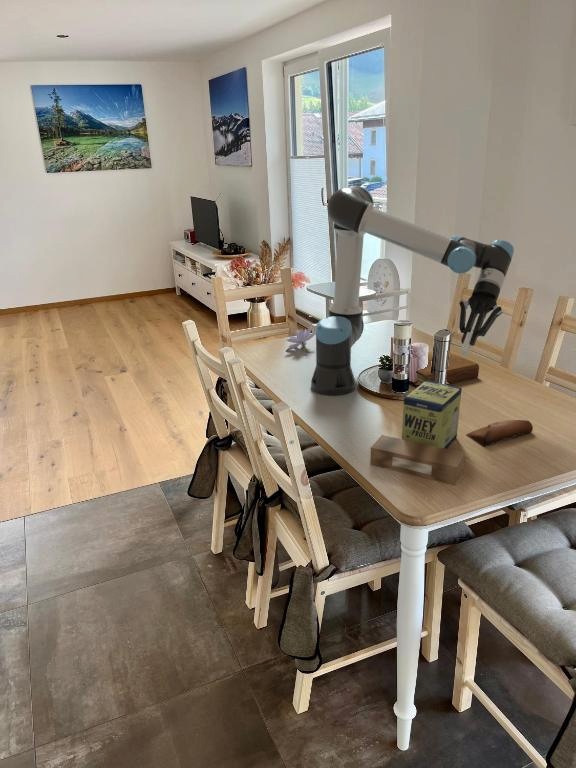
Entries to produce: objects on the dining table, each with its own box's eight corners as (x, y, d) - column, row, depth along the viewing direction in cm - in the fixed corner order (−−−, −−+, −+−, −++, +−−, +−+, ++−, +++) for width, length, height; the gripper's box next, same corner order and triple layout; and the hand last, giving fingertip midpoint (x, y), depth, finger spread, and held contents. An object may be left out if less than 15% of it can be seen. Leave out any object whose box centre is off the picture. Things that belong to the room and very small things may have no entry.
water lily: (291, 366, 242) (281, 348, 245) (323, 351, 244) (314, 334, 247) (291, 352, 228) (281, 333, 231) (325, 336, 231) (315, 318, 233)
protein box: (400, 450, 160) (403, 397, 154) (422, 428, 172) (426, 379, 166) (437, 460, 154) (441, 406, 148) (457, 437, 166) (462, 386, 160)
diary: (426, 392, 199) (427, 376, 196) (392, 374, 214) (393, 359, 212) (477, 379, 208) (479, 363, 206) (442, 363, 224) (443, 348, 221)
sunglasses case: (509, 421, 175) (521, 407, 170) (524, 440, 171) (536, 427, 166) (463, 435, 167) (474, 421, 162) (477, 455, 163) (489, 442, 158)
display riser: (369, 464, 153) (370, 447, 151) (381, 451, 159) (381, 434, 157) (455, 485, 143) (456, 467, 141) (463, 470, 149) (465, 452, 147)
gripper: (465, 277, 180) (440, 343, 174) (508, 282, 173) (484, 351, 167) (469, 291, 186) (444, 355, 180) (511, 296, 179) (487, 363, 173)
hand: (463, 353), depth 173 cm, fingers closed
